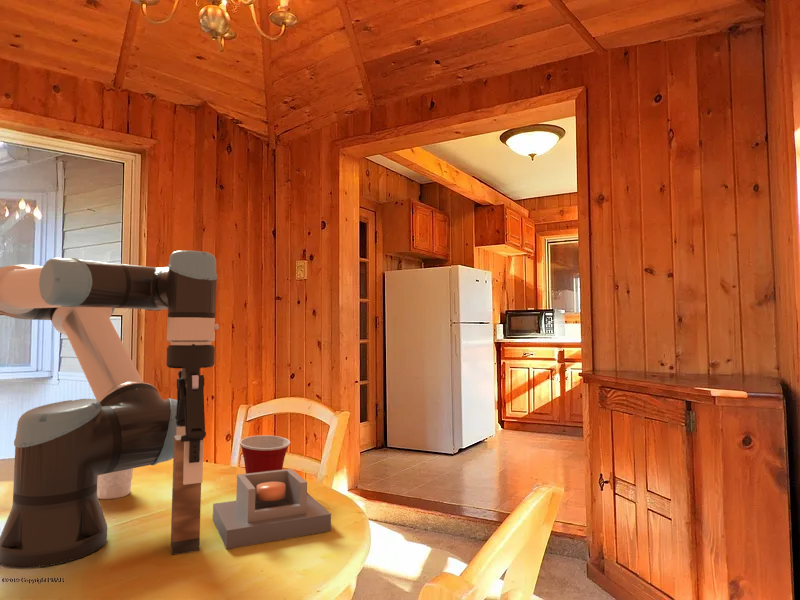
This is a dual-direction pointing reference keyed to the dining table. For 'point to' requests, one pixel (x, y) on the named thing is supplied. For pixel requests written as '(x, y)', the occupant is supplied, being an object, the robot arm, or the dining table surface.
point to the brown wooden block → (184, 506)
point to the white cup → (114, 484)
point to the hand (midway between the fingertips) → (188, 473)
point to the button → (270, 491)
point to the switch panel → (269, 511)
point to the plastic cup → (264, 453)
